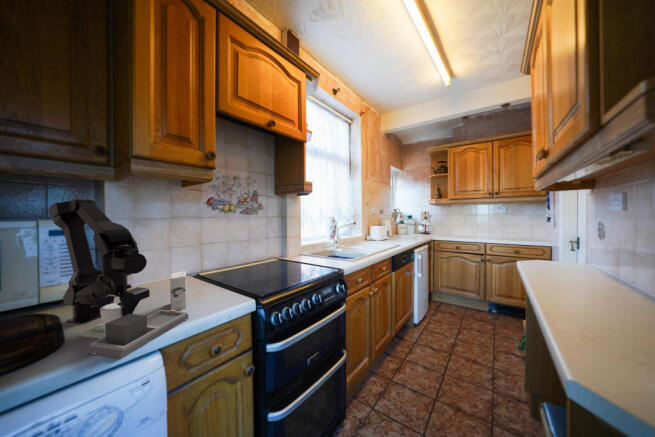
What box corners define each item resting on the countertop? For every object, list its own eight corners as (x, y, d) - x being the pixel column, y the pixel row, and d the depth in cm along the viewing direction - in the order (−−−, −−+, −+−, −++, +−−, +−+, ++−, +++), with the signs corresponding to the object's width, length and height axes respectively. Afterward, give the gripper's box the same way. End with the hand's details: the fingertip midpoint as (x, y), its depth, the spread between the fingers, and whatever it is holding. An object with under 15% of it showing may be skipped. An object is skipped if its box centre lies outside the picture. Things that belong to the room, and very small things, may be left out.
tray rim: (79, 335, 66) (79, 332, 66) (120, 318, 77) (120, 315, 77) (111, 339, 64) (111, 336, 64) (148, 321, 75) (148, 318, 75)
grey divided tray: (88, 353, 58) (87, 327, 58) (162, 315, 79) (162, 296, 79) (121, 358, 56) (120, 331, 56) (188, 318, 77) (188, 298, 77)
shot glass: (135, 326, 72) (134, 303, 72) (105, 336, 66) (105, 312, 66) (125, 320, 75) (125, 299, 75) (97, 330, 70) (96, 306, 69)
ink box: (171, 302, 90) (170, 272, 89) (186, 300, 92) (186, 270, 92) (170, 311, 83) (169, 278, 82) (186, 308, 85) (186, 275, 85)
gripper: (54, 276, 64) (57, 332, 65) (110, 280, 60) (112, 339, 61) (101, 266, 75) (102, 314, 75) (150, 269, 71) (151, 319, 72)
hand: (116, 321), depth 71 cm, fingers open, 7 cm apart
